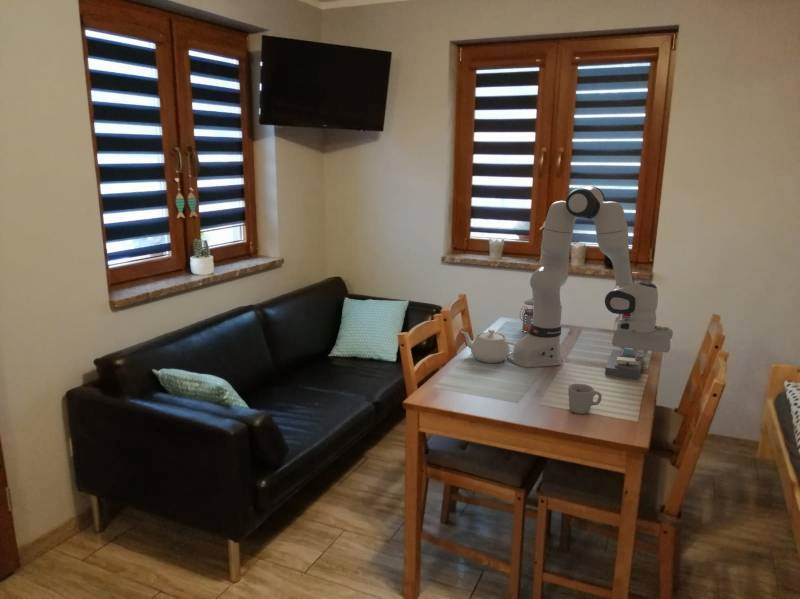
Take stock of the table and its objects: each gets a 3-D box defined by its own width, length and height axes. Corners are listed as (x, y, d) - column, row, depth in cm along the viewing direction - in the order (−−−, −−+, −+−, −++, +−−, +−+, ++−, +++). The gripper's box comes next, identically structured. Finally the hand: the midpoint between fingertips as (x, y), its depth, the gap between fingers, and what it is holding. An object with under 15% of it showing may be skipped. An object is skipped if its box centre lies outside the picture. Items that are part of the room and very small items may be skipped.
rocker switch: (638, 366, 222) (639, 361, 222) (616, 364, 226) (616, 359, 225) (639, 363, 226) (639, 358, 226) (617, 361, 230) (617, 356, 229)
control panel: (638, 380, 222) (640, 364, 220) (604, 374, 227) (606, 359, 225) (642, 360, 243) (644, 346, 242) (611, 356, 248) (613, 342, 246)
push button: (635, 357, 230) (636, 350, 229) (623, 356, 232) (624, 348, 231) (636, 354, 234) (637, 347, 233) (624, 352, 236) (625, 345, 235)
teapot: (523, 359, 244) (525, 330, 241) (510, 369, 230) (512, 339, 228) (467, 348, 256) (468, 321, 253) (452, 358, 243) (453, 329, 240)
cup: (595, 406, 198) (597, 383, 196) (604, 416, 191) (606, 392, 189) (563, 406, 198) (565, 383, 196) (570, 416, 190) (573, 392, 188)
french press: (545, 331, 281) (549, 280, 275) (527, 335, 275) (530, 282, 270) (531, 326, 289) (534, 276, 283) (513, 329, 284) (516, 278, 278)
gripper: (673, 325, 219) (669, 361, 222) (614, 319, 228) (612, 354, 231) (673, 330, 214) (669, 366, 217) (613, 323, 222) (610, 359, 225)
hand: (639, 360), depth 224 cm, fingers closed, pressing on rocker switch
